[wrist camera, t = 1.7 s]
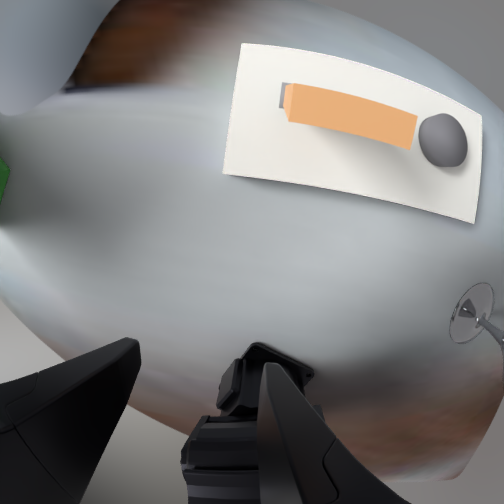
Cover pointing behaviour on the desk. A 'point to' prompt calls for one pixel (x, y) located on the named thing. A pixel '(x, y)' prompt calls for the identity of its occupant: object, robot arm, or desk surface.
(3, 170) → the cereal box
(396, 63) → the desk surface
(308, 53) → the switch panel
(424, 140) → the push button
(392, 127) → the paddle lever
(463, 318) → the wine glass
